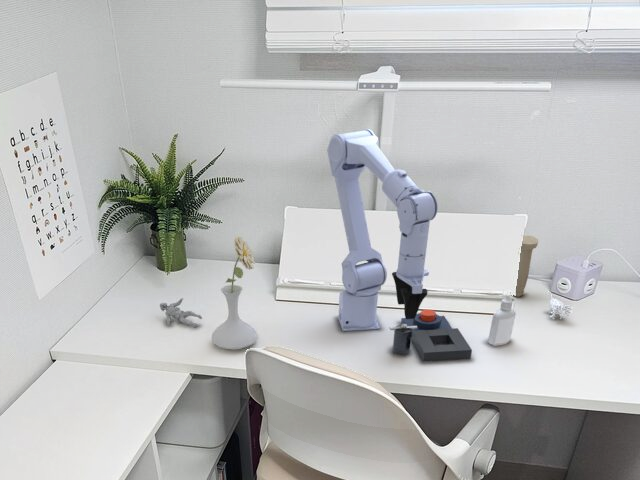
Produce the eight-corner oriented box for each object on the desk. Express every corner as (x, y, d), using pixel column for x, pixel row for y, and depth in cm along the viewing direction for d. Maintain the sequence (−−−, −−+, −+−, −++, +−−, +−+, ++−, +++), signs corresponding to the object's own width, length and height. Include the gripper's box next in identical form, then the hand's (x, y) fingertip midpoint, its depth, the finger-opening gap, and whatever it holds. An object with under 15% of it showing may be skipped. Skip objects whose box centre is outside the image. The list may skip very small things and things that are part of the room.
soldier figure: (188, 336, 171) (149, 314, 173) (193, 340, 176) (155, 319, 178) (203, 309, 171) (164, 287, 173) (208, 314, 176) (169, 293, 177)
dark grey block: (389, 356, 159) (391, 329, 155) (385, 348, 162) (388, 322, 158) (416, 355, 159) (419, 328, 155) (412, 347, 162) (415, 320, 158)
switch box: (408, 337, 166) (409, 326, 164) (400, 323, 172) (402, 312, 171) (452, 335, 167) (454, 323, 165) (443, 320, 173) (444, 309, 171)
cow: (571, 324, 170) (576, 307, 167) (549, 325, 170) (554, 307, 167) (556, 304, 179) (561, 287, 176) (536, 304, 180) (540, 287, 177)
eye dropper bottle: (512, 346, 162) (523, 298, 154) (489, 346, 162) (498, 299, 154) (508, 337, 165) (518, 290, 158) (485, 338, 165) (493, 291, 158)
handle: (525, 290, 187) (537, 236, 177) (526, 300, 182) (538, 244, 172) (506, 289, 187) (517, 235, 178) (507, 299, 183) (518, 243, 173)
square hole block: (422, 362, 156) (424, 352, 155) (411, 340, 165) (412, 330, 164) (470, 359, 157) (472, 349, 156) (456, 337, 166) (457, 328, 164)
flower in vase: (240, 358, 159) (234, 253, 144) (202, 346, 164) (192, 244, 149) (271, 336, 168) (268, 235, 152) (233, 326, 173) (227, 226, 157)
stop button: (422, 322, 166) (422, 316, 165) (418, 316, 169) (419, 309, 168) (436, 321, 167) (437, 315, 166) (432, 315, 169) (433, 309, 168)
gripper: (439, 264, 141) (431, 324, 150) (422, 239, 152) (415, 296, 161) (406, 265, 141) (400, 325, 149) (391, 241, 152) (386, 298, 161)
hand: (406, 310), depth 155 cm, fingers open, 7 cm apart
